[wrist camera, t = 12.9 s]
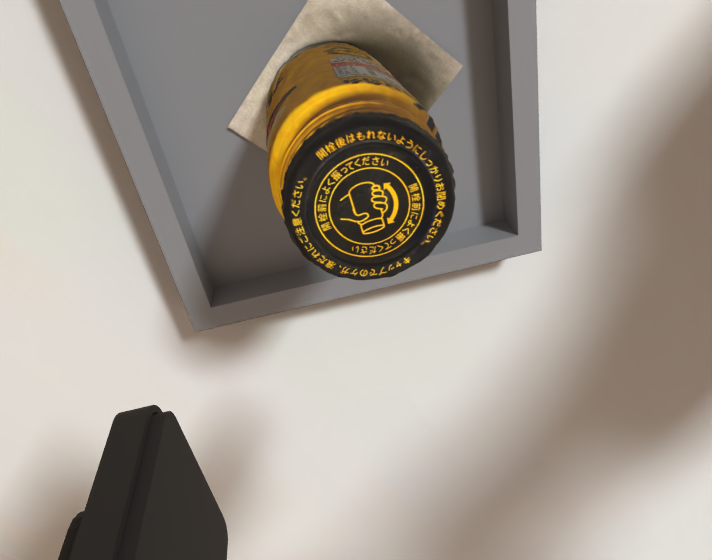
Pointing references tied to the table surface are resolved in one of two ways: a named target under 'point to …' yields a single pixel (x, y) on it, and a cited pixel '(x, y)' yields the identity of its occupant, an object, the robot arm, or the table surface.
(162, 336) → the table surface
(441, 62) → the condiment
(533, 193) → the tray
